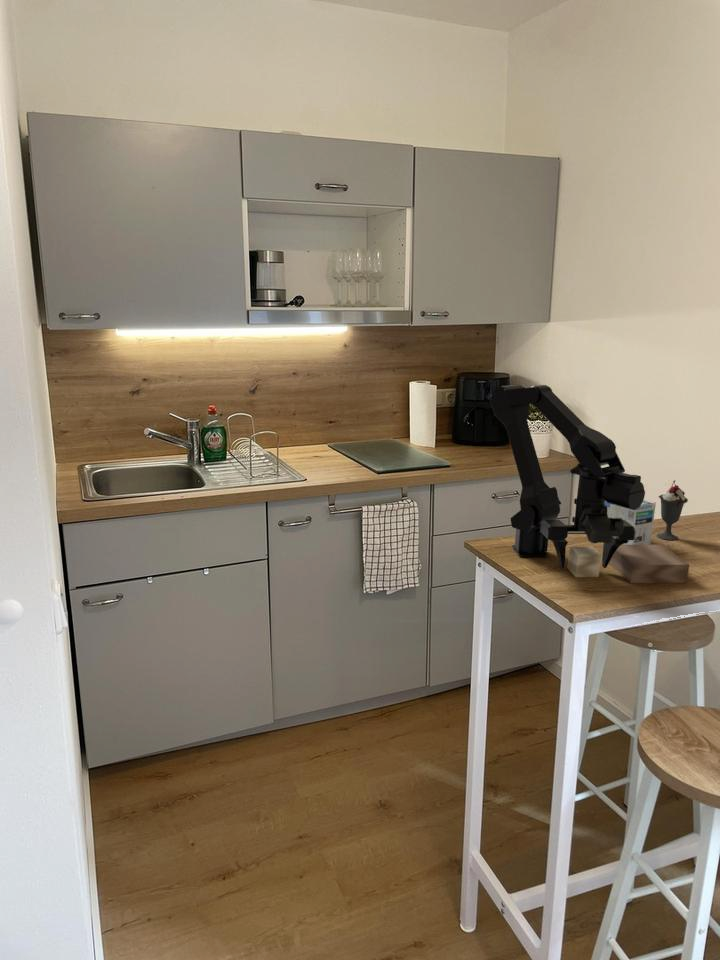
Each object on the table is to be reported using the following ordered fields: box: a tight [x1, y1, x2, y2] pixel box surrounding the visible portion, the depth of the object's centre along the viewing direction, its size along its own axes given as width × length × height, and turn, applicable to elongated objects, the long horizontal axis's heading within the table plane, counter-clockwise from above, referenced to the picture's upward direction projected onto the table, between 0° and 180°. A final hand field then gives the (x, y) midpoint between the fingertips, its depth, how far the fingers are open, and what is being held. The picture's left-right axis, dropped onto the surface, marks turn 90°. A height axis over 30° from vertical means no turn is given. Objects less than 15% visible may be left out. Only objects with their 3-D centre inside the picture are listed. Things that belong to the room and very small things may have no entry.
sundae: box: [656, 480, 689, 541], centre depth 177 cm, size 7×7×15 cm
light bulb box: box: [605, 498, 657, 545], centre depth 175 cm, size 11×7×11 cm, turn 30°
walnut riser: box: [609, 544, 690, 584], centre depth 156 cm, size 12×12×4 cm
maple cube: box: [567, 546, 602, 578], centre depth 155 cm, size 5×5×5 cm
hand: (583, 567), depth 155 cm, fingers open, 9 cm apart
